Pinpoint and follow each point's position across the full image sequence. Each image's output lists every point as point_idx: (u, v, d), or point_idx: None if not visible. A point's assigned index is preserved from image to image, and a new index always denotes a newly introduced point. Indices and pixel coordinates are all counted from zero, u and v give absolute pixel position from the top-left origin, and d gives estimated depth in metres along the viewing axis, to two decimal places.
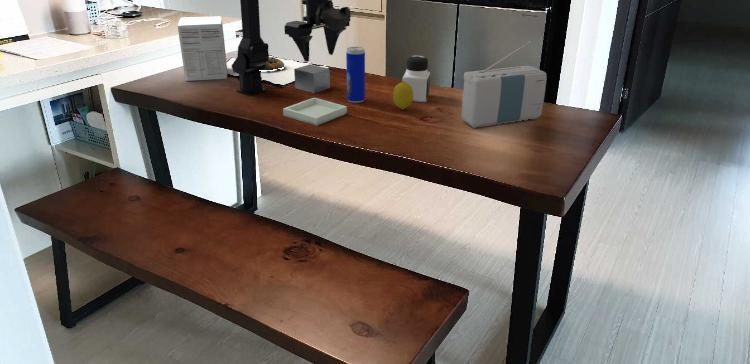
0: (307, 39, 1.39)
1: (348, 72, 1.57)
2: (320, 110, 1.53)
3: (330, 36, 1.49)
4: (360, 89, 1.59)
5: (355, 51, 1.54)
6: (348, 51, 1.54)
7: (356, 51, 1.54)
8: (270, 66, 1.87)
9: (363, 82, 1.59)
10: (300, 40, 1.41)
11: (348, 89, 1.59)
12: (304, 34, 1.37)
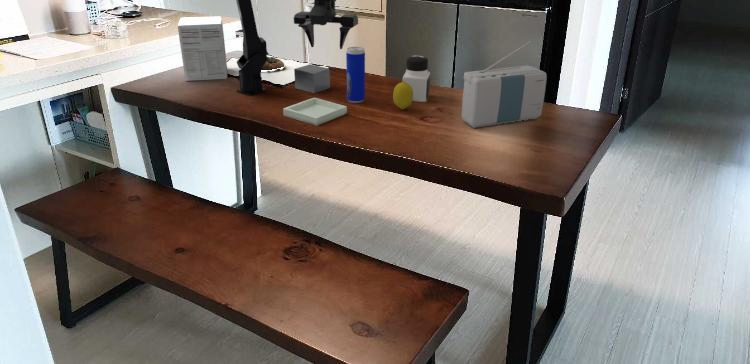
0: (302, 27, 1.69)
1: (348, 72, 1.57)
2: (320, 110, 1.53)
3: None
4: (360, 89, 1.59)
5: (355, 51, 1.54)
6: (348, 51, 1.54)
7: (356, 51, 1.54)
8: (270, 66, 1.88)
9: (363, 82, 1.59)
10: None
11: (348, 89, 1.59)
12: (296, 22, 1.68)
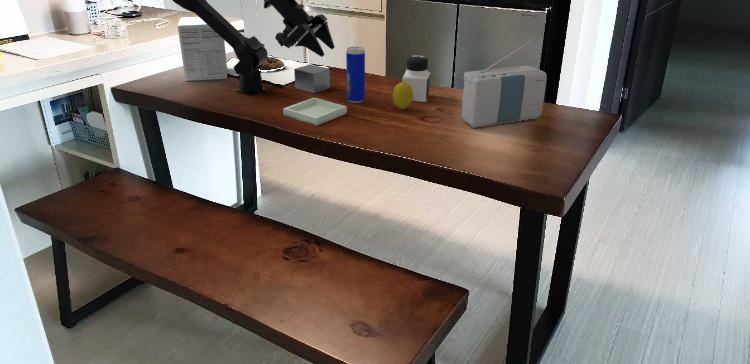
0: None
1: (348, 72, 1.57)
2: (320, 110, 1.53)
3: None
4: (360, 89, 1.59)
5: (355, 51, 1.54)
6: (348, 51, 1.54)
7: (356, 51, 1.54)
8: (270, 66, 1.88)
9: (363, 82, 1.59)
10: None
11: (348, 89, 1.59)
12: None
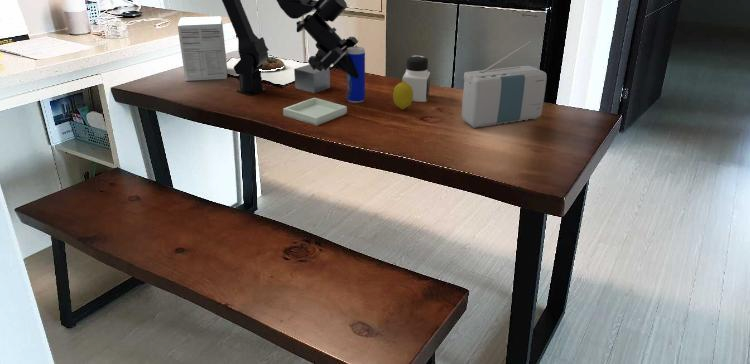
0: None
1: None
2: (320, 110, 1.53)
3: None
4: (360, 89, 1.59)
5: (355, 51, 1.54)
6: (348, 51, 1.54)
7: (356, 51, 1.54)
8: (270, 66, 1.88)
9: (363, 82, 1.59)
10: None
11: (348, 89, 1.59)
12: None
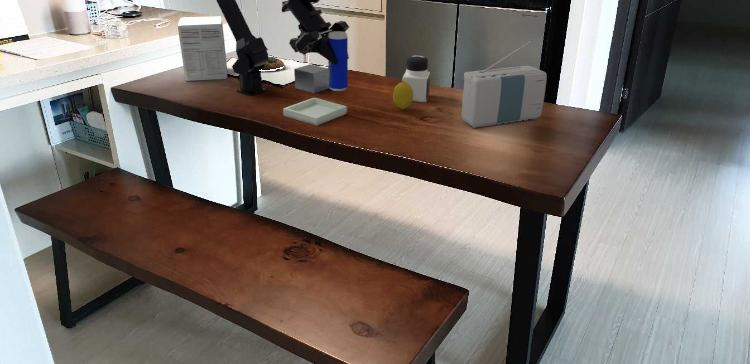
0: None
1: None
2: (320, 110, 1.53)
3: None
4: (340, 76, 1.50)
5: (335, 36, 1.45)
6: (329, 35, 1.47)
7: (336, 36, 1.45)
8: (270, 66, 1.88)
9: (344, 69, 1.50)
10: None
11: (329, 76, 1.51)
12: None
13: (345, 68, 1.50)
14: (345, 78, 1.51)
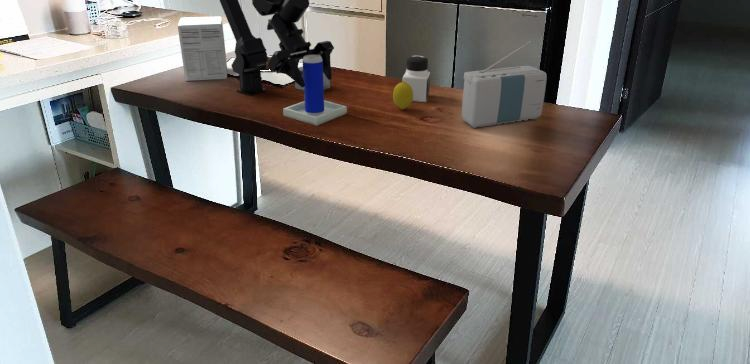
0: None
1: None
2: None
3: None
4: (313, 100, 1.47)
5: (307, 59, 1.43)
6: (303, 58, 1.44)
7: (308, 59, 1.43)
8: None
9: (318, 94, 1.47)
10: None
11: (304, 99, 1.49)
12: None
13: (319, 92, 1.47)
14: (319, 102, 1.48)
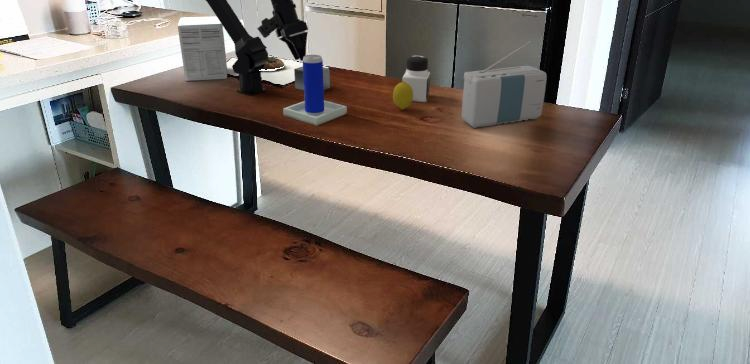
0: (281, 40, 1.60)
1: None
2: None
3: None
4: (313, 100, 1.47)
5: (307, 59, 1.43)
6: (303, 58, 1.44)
7: (308, 59, 1.43)
8: (270, 66, 1.88)
9: (318, 94, 1.47)
10: None
11: (304, 99, 1.49)
12: None
13: (319, 92, 1.47)
14: (319, 102, 1.48)
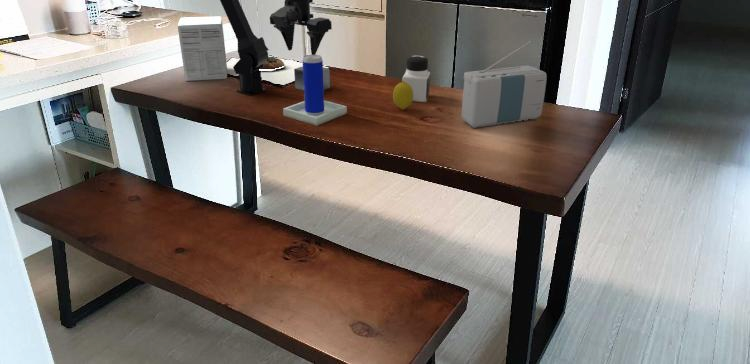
0: (277, 28, 1.58)
1: None
2: None
3: None
4: (313, 100, 1.47)
5: (307, 59, 1.43)
6: (303, 58, 1.44)
7: (308, 59, 1.43)
8: (270, 66, 1.88)
9: (318, 94, 1.47)
10: None
11: (304, 99, 1.49)
12: (271, 22, 1.58)
13: (319, 92, 1.47)
14: (319, 102, 1.48)
